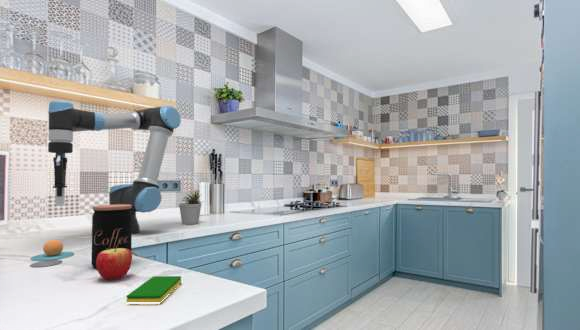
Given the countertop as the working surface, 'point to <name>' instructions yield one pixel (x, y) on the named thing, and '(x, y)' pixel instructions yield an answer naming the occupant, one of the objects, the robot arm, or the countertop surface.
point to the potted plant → (190, 210)
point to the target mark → (45, 257)
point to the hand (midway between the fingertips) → (59, 205)
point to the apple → (114, 262)
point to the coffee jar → (111, 228)
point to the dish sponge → (154, 289)
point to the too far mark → (46, 263)
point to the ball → (53, 247)
